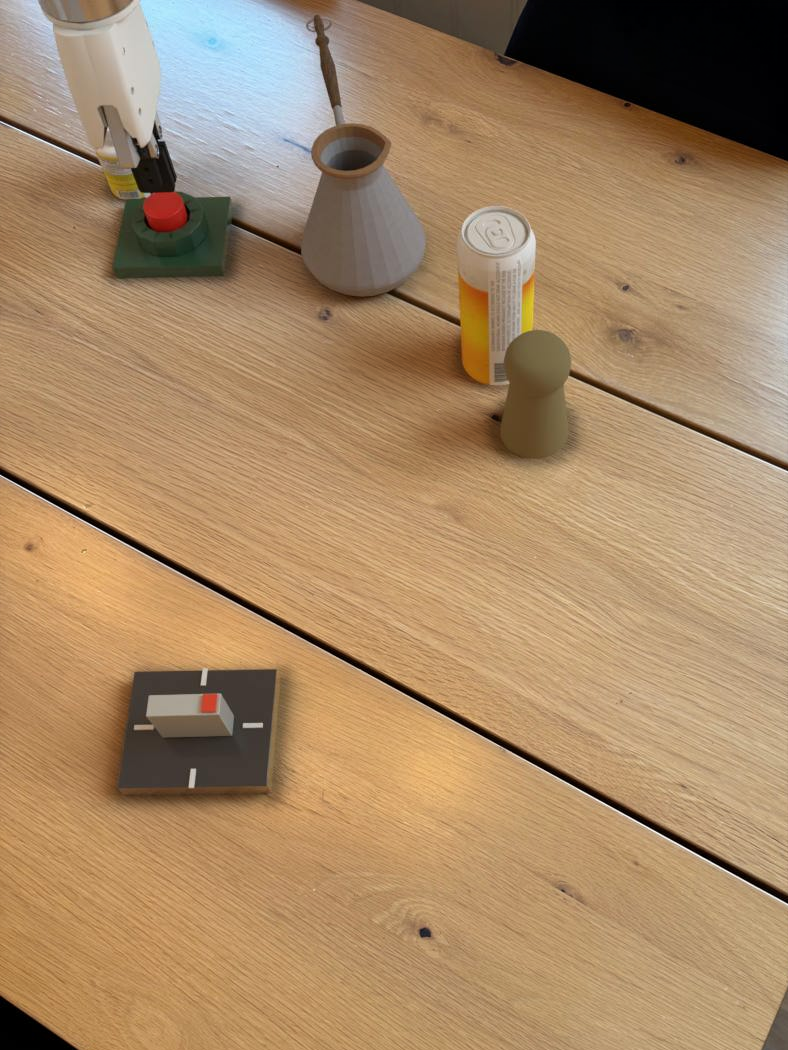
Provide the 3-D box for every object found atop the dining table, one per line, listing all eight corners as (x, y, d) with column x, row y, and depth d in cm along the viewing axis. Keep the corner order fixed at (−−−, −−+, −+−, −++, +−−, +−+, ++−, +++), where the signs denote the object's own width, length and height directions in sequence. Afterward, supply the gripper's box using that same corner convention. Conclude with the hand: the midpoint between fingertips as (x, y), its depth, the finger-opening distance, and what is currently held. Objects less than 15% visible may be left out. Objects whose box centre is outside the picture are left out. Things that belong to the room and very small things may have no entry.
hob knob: (162, 738, 75) (144, 715, 71) (165, 717, 76) (147, 693, 72) (232, 736, 75) (218, 713, 71) (234, 715, 76) (220, 691, 72)
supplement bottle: (146, 168, 105) (118, 91, 98) (171, 193, 104) (145, 117, 96) (104, 190, 104) (73, 114, 96) (129, 216, 102) (99, 140, 95)
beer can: (515, 331, 95) (518, 193, 81) (541, 380, 92) (548, 246, 79) (452, 350, 94) (444, 214, 80) (477, 400, 91) (473, 268, 78)
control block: (119, 286, 98) (105, 252, 95) (133, 217, 102) (119, 182, 99) (226, 283, 98) (216, 250, 94) (235, 215, 102) (226, 180, 98)
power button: (146, 234, 96) (140, 218, 95) (151, 206, 98) (145, 190, 96) (185, 233, 96) (180, 217, 94) (189, 205, 98) (184, 189, 96)
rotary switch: (127, 800, 75) (115, 788, 73) (144, 684, 80) (133, 669, 77) (273, 798, 75) (266, 786, 73) (283, 681, 80) (276, 666, 77)
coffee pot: (439, 300, 97) (429, 160, 83) (316, 323, 96) (286, 185, 82) (395, 147, 106) (380, -1, 93) (282, 166, 105) (251, 19, 92)
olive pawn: (557, 474, 88) (564, 386, 78) (488, 456, 89) (487, 367, 79) (578, 419, 90) (587, 327, 80) (511, 402, 91) (512, 309, 81)
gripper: (51, -80, 81) (128, 130, 97) (15, 46, 74) (104, 248, 90) (148, -83, 81) (209, 128, 97) (121, 42, 74) (191, 246, 90)
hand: (158, 186), depth 94 cm, fingers closed
